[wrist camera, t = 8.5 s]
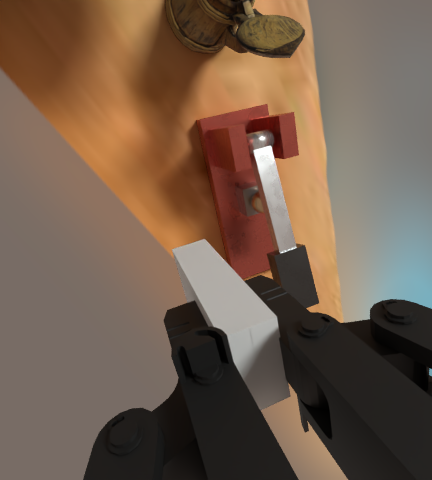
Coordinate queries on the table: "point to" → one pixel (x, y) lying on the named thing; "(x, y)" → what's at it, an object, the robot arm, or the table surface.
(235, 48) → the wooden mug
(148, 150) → the table surface
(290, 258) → the nutcracker lever
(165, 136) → the table surface
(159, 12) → the table surface
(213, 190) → the nutcracker base
